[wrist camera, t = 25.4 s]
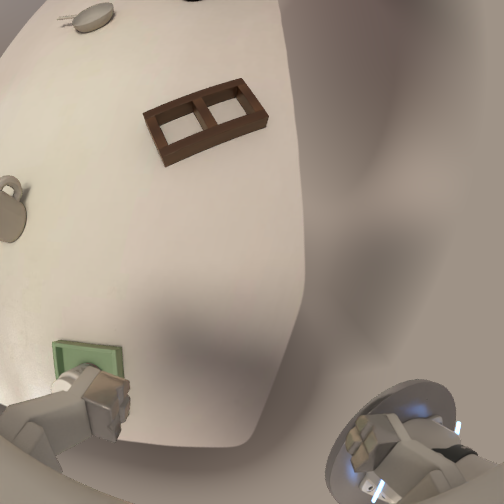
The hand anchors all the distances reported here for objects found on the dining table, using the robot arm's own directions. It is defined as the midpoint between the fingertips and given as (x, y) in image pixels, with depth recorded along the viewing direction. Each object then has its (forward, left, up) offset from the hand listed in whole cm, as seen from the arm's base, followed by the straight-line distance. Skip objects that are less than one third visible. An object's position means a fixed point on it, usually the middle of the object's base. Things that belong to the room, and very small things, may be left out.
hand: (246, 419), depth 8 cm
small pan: (+77, -7, -28) cm, 82 cm away
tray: (+4, +20, -27) cm, 34 cm away
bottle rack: (+27, -14, -27) cm, 41 cm away
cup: (+33, +20, -28) cm, 48 cm away
